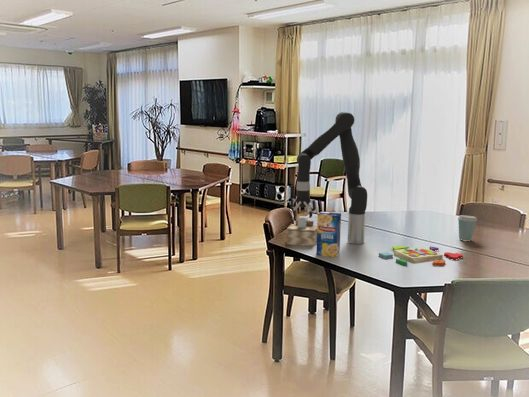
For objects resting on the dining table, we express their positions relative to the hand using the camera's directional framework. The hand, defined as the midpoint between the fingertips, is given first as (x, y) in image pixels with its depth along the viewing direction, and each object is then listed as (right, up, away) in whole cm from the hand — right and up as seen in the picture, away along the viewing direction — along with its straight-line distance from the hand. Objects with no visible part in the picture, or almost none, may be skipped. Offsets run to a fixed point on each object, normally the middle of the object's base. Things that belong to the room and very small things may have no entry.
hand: (302, 217), depth 282 cm
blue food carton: (+12, -19, -19) cm, 30 cm away
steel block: (0, -6, +1) cm, 6 cm away
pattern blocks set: (+59, -21, -21) cm, 66 cm away
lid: (0, -7, +2) cm, 7 cm away
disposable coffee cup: (+98, -14, +14) cm, 100 cm away
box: (0, -15, +4) cm, 15 cm away
